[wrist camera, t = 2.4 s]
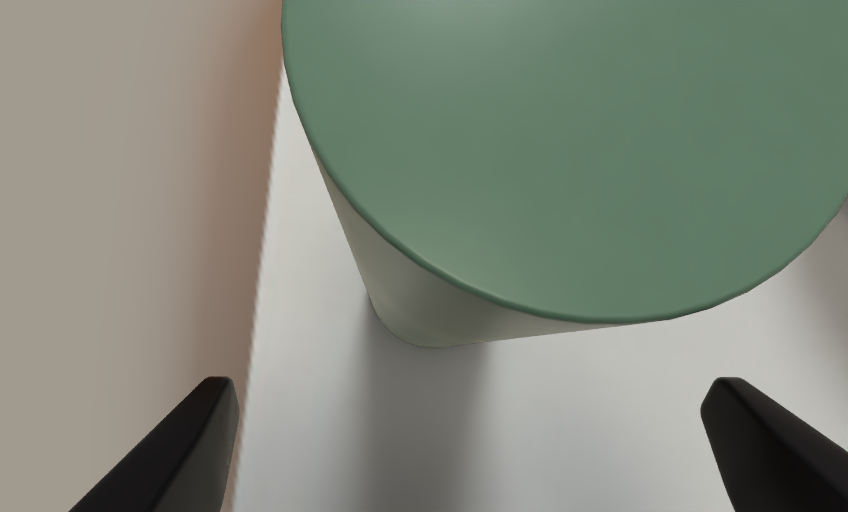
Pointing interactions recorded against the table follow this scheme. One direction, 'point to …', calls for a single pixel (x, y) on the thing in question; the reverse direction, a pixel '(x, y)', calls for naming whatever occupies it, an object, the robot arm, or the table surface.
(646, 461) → the table surface
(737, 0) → the cylinder
